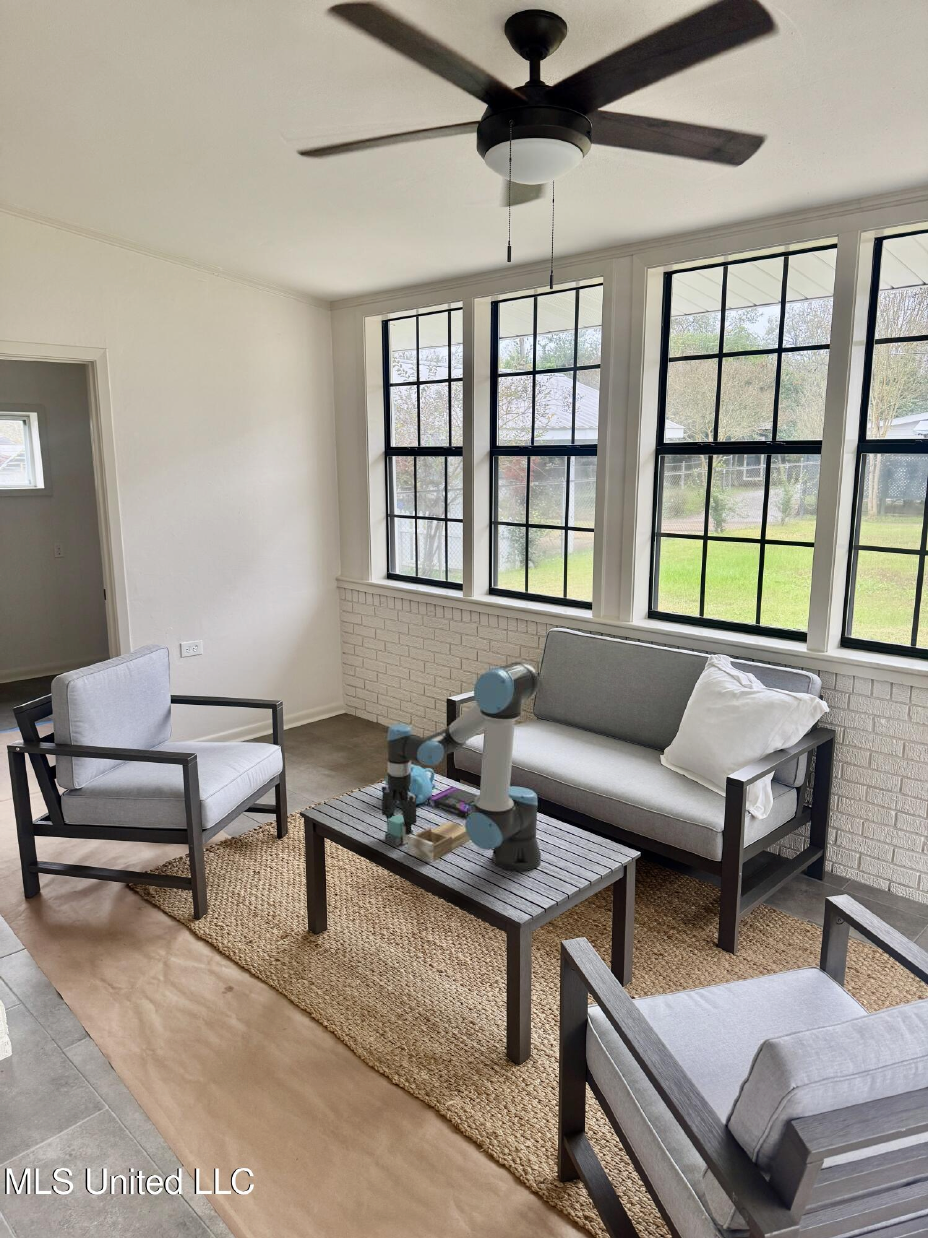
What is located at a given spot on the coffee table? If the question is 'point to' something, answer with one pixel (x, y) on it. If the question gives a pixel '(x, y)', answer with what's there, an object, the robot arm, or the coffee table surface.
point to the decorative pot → (420, 783)
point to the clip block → (395, 825)
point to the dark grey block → (394, 839)
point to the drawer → (437, 841)
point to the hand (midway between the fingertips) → (398, 839)
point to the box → (454, 801)
